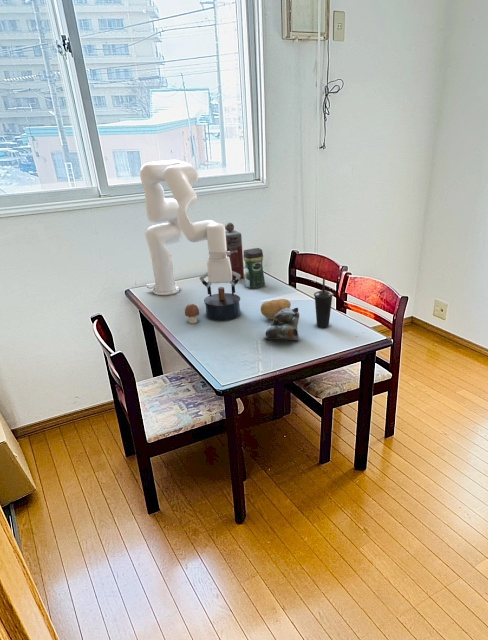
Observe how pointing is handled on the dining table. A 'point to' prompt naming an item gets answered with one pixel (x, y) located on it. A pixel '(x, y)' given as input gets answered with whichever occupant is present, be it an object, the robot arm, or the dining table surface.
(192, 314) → the mushroom
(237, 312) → the pan
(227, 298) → the pan lid
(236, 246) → the vintage gas pump model
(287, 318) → the lucky cat figurine
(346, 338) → the dining table surface
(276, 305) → the potato
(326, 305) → the drinking cup
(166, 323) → the dining table surface
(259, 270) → the coffee jar
